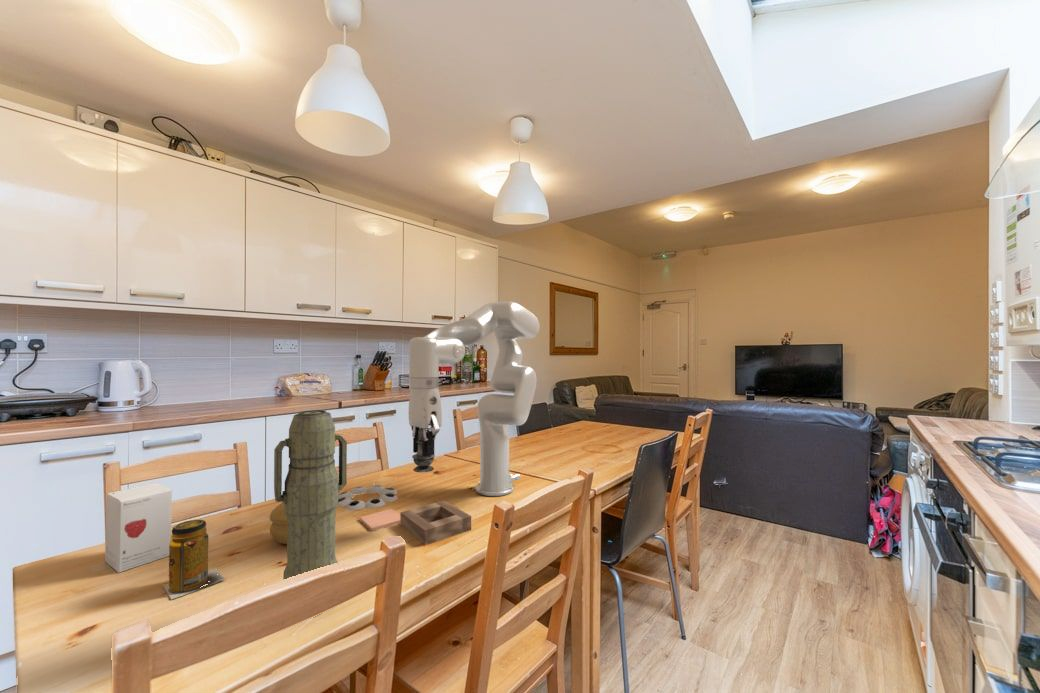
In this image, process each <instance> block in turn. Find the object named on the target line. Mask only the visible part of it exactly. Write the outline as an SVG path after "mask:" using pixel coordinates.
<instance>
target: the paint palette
mask: <svg viewBox="0 0 1040 693" xmlns="http://www.w3.org/2000/svg"><path fill="white" fill-rule="evenodd" d="M366 492H369V493H368V494H378V492H379V497H378V498H377V497H376V498H374V497H373V498H371V499H369V500H367V501H366V502H364V501H363V500H360V499H355V500H354V499H353V498H352V497H354V496H355V497H356V495H354V494H362V493H365V494H367V493H366ZM397 493H398V490H396V489H395V488H394V487H384V486H382V485H379V484H377V485H376V484H375V485H374V484H373V485H371V486H370V487H369V488H368V489H367V487H364V486H357V487H353V488H352V489H351V490H350V491H349V490H347V491H343V492H339V493H338V505H337V506H344V508H346V509H345V510H347V509H348V510H347V511H357V510H362V509H364V508H367V509H376V508H377V509H378V508H380V507H383V506H385V504H386V503H389V502H395V501H396V500H398V498H399V497H398V496H397ZM362 495H363V494H362ZM380 495H381V496H380ZM355 497H354V498H355ZM351 498H352V499H351ZM344 499H345V500H344ZM339 500H341V501H339ZM372 501H373V502H372ZM374 502H377V503H374ZM352 503H354V504H355V505H353V504H352ZM351 504H352V505H351Z"/></svg>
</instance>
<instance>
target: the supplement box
mask: <svg viewBox="0 0 1040 693" xmlns="http://www.w3.org/2000/svg"><path fill="white" fill-rule="evenodd" d="M172 491H173V489H172V488H170V487H167V486H164V485H162V484H161V483H159V482H156V483H155V482H154V483H150V484H146V485H142V486H137V487H131V488H127V489H122V490H118V491H114V492H113V491H112V492H108V493H106V505H105V506H106V507H105V508H106V509H105V510H106V511H105V514H106V515H105V544H104V545H105V547H104V548H105V549H104V550H105V552H104V556H105V557H104V562H106V563H107V564H108V565H109V566H110V567H111V568H113V569H114V570H115V571H116V572H117V573H121V572H125V571H128V570H132V569H133V568H136V567H140V566H142V565H143V566H144V565H147V564H149V563H151V562H155V561H158V560H161V559H163V558H167V557H169V545H170V542H171V541H172V505H173V504H172V501H173V500H172V499H173V497H172V496H173V495H172V493H173V492H172Z"/></svg>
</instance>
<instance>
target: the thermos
mask: <svg viewBox="0 0 1040 693" xmlns="http://www.w3.org/2000/svg"><path fill="white" fill-rule="evenodd" d="M335 442H338V472H337V469H336V465H335V464H336V460H335V456H334V455H335V453H336V443H335ZM347 444H348V443H347V441H346V439H345V438H344V437H343V436H342V435H341V434H336V426H335V423H334V420H333V416H332V414H331V412H327V410H323V409H322V410H320V409H318V410H316V409H315V410H313V409H312V410H305V411H299V412H298V413H297V414H296V413H295V414H294V415H293V416H292V420H291V422H290V426H289V427H288V438H285V439H284V440H280V441H279V443H278V444H277V445H276V446H275V448H273V449H274V453H273V455H274V458H273V459H274V460H273V461H274V462H273V467H274V468H273V471H274V472H273V474H274V475H273V492H274V493H273V494H274V495H273V496H274V499H275V501H276V502H277V503H284V512H285V514H286V516H287V544H286V565H285V568H284V570H283V577H282V578H283V580H284V579H287V578H289V577H292V576H296V575H298V574H302V573H304V572H308V571H311V570H314V569H317V568H320V567H324V566H327V565H331V564H334V563H338V560H337V556H336V510H337V508H338V507H337V505H338V502H339V501H338V494H340V491H342V490H343V488H345V487H346V485H347V479H348V478H347V476H348V475H347V469H348V468H347V466H348V465H347V464H348V463H347V459H348V458H347V456H348V455H347V453H348V452H347V451H348V450H347V449H348V447H347ZM285 447H287V448H288V458H289V464H288V471H287V474H286V477H285V479H284V490H282V489H283V488H282V486H283V484H282V482H283V481H282V476H283V475H282V474H283V472H282V471H283V469H282V468H283V449H284V448H285ZM338 564H339V563H338Z"/></svg>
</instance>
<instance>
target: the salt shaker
mask: <svg viewBox="0 0 1040 693" xmlns="http://www.w3.org/2000/svg"><path fill="white" fill-rule="evenodd" d="M429 431H430V430H427V434H428V433H429ZM422 441H424V435H423V429H422V428H420V429H419V430H418V441H417V443H418V451H417V453H414V454H413V455H412V457H411V458H412V459H413V462H414V464H415V465H416V467H413V469H412V470H413V472H415V473H429V472H433V471H434V469H435V468H434V467H433V466H432V463H433V462H434V459H435V457H436V455H435V454H434V455H430V456H423V455H422Z"/></svg>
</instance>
